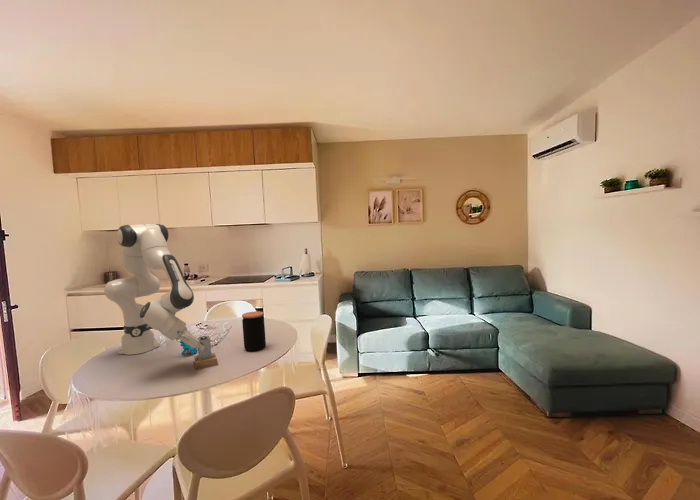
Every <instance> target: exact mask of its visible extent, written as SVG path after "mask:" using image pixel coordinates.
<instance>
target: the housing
mask: <svg viewBox="0 0 700 500" xmlns="http://www.w3.org/2000/svg"><path fill="white" fill-rule="evenodd" d="M196 339H198V340H199V341H200V344H201V345H203V346H204V347H205V348H204V350H201V349H199V348H197V350H198V351H197V353H198V354H197V355H196V356H198V360H199V361H201V360H206V359H211V358H213V355H212V353H213V352H212V348H211V347H212V346H211V338H210V335H204V336H202V335H201V336H200V337H197V338H196Z"/></svg>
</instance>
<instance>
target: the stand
mask: <svg viewBox="0 0 700 500" xmlns="http://www.w3.org/2000/svg"><path fill="white" fill-rule="evenodd" d="M211 353H212V355H213V358H211V359H206V360H201V361H199V360H198V356H197V355H195V356H194V357H193V359H194V361H193V370H194V371H196V370H201V369H206V368H211V367H216V366H219V362H218V358H217V355H216V353H215V352H211Z"/></svg>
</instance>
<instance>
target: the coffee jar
mask: <svg viewBox="0 0 700 500" xmlns="http://www.w3.org/2000/svg"><path fill="white" fill-rule="evenodd" d="M264 314H265V313H264V311H260V310H259V311H257V310H255V311H248V312H245V313H243V314H242V315H241V317H242V320H241V321H242V322H241V324H242V335H243V337H242V338H243V346H244V347H243V348H244V350H245V351H246V352H249V353H254V352H255V353H256V352H260V351H263V350H264V349H265V348H266V345H267V342H266V328H265V327H266V326H265V316H264Z"/></svg>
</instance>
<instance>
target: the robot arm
mask: <svg viewBox="0 0 700 500" xmlns="http://www.w3.org/2000/svg"><path fill="white" fill-rule="evenodd" d="M116 240H117V242H118V244H119V245H120V246H121V247H123V248H122V261H121V265H122V268H123V269H124V271H126V272H128V273H129V274H133V276H130V277H125V278H116V279H114V280H110V281H108V282H107V283H106V284H105V286H104V288H103V289H104V290H103V291H104V296H105V297H106V298H107V299H108V300H109V301H111V302H113V303H115V304H116V305H117V306H118V307H119V308H120V310H121V311H122V316H123V322H124V325H123V332H124V334H123V335H122V336H121V341H120V342H121V349H120V350H118V351H117V352H118V354H119V355H137V354H138V355H139V354H143V353H146V352H150V351H152V350H154V349H157V348H160V344H159V342H158V341H157V339H156V337H155V332H154V331H153V330H156V331H158V332H159V333H160V334H161V335H162V336H163V337H166V338H167V339H169V340H170V341H175V340H177V341H178V340H180V341H181V340H182V341H183V342H184V343H186V344H187V345H189V346H190V347H192V348H194V349H195V348H196V347H197V349H198V348H199V349H201V350H204V348H205V347H204V346H203V345H201V344H200V341H199V340H198V339H197V338H196V336H195V335H193V333H191V332H190V331H189V330H188V328H187V327H186V326H187V323H186V322H185V321H183V320H182V319H180V318H178V316H176V314H177V313H178V312H180V311H182V310H183V309H185V308H188V307H190V306H191V305H192V304H193V302H194V298H195V297H194V292H193V290H192V288H191V287H190V285H189V284H188V283H187V280H186V278H185V276H184V273H183V271H182V268H181V266H180V264H179V262H178V260H177V259H176V257H175V256H174V255H172V254H171V252H170V250H169V249H170V248H169V245H168V243H167V242H168V240H169V230H168V228H167V227H166V226H165V225H164V224H159V223H156V224H153V223H139V224H136V223H135V224H123V225H121V226H119V227H118V229H117V232H116ZM150 269H152V270H158V271H159V270H164V272H165V273H166V276H167V278H168V280H169V284H170V290H169V291H167V292H166V293H164V294H162V295H161V296H160V297H158V298H156V299H154V300H152V301H147V303H145V304H142V303H141V304H140V303H138V302H137V301H136V299H137V298H142V297H147V296H151V295H154V294H156V293H158V292H159V290H160V288H161V282H160V279H159V277H157V276H156V275H154V274H153V273H152V272H151V271H150ZM152 329H153V330H152Z"/></svg>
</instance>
